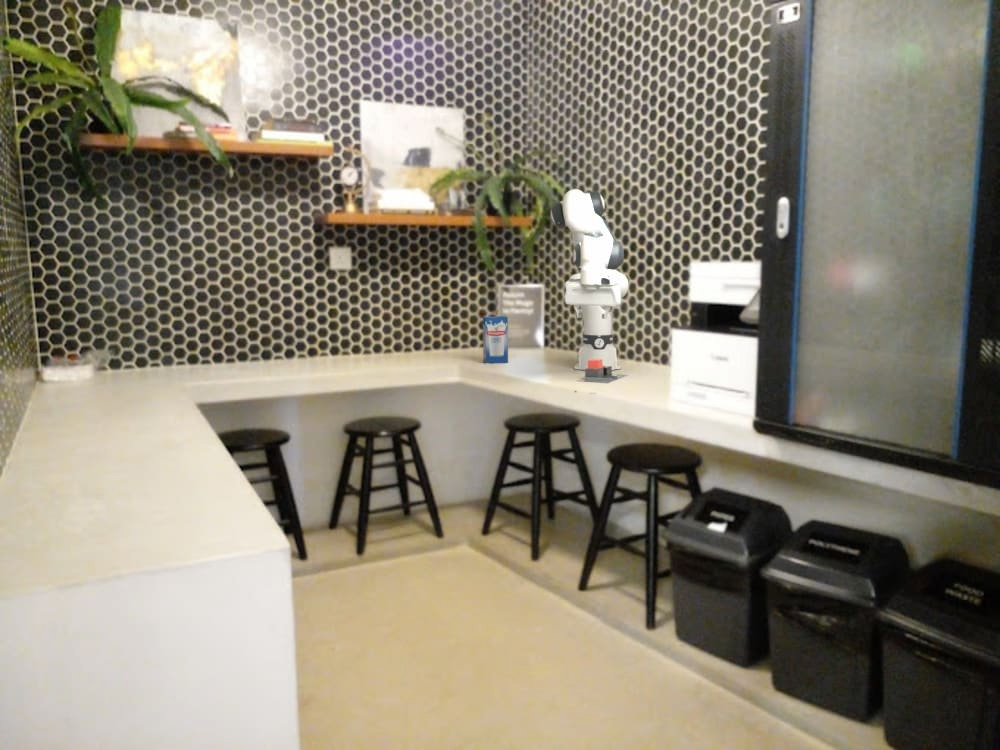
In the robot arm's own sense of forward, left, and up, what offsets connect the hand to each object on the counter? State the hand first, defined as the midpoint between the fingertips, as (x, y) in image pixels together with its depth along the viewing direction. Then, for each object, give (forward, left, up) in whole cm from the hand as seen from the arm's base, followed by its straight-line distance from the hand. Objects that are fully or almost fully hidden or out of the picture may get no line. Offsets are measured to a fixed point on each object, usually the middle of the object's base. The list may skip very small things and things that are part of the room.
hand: (591, 318), depth 268 cm
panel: (+1, +4, -23) cm, 23 cm away
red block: (+3, +1, -18) cm, 18 cm away
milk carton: (-59, -36, -23) cm, 73 cm away
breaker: (+3, +1, -21) cm, 21 cm away
